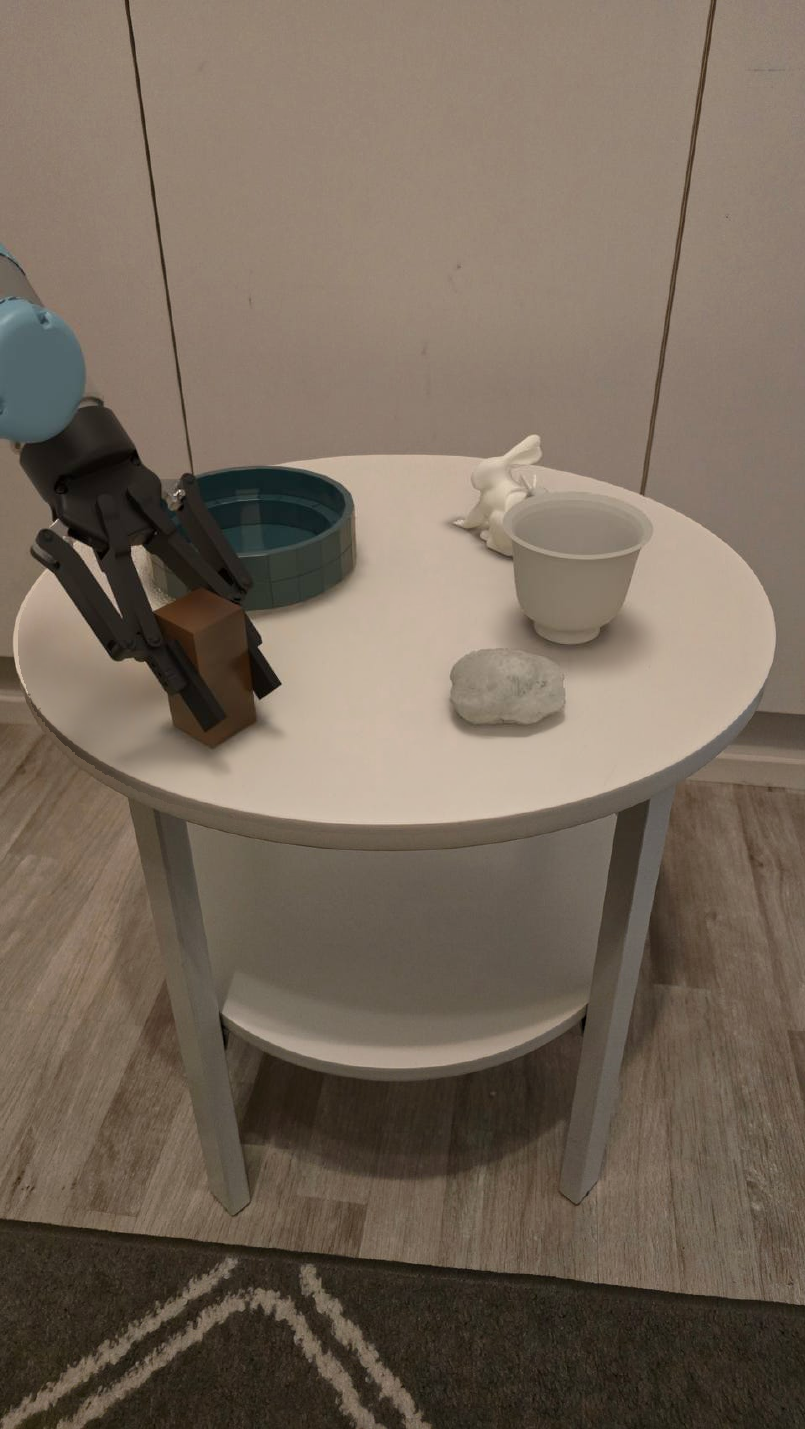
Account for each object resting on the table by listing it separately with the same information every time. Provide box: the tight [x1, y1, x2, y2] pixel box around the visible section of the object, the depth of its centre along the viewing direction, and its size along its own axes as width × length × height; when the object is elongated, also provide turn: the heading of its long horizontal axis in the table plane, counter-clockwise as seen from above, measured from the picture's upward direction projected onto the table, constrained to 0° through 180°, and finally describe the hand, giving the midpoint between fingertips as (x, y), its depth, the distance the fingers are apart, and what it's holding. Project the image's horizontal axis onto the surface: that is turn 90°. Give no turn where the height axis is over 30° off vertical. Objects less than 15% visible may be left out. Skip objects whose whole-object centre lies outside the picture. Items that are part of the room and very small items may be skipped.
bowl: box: [144, 464, 358, 613], centre depth 93 cm, size 20×20×6 cm
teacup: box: [503, 485, 654, 645], centre depth 83 cm, size 12×15×10 cm
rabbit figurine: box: [452, 434, 543, 557], centre depth 96 cm, size 12×8×10 cm, turn 28°
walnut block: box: [153, 588, 258, 750], centre depth 72 cm, size 4×4×10 cm
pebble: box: [449, 647, 567, 725], centre depth 74 cm, size 9×8×5 cm
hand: (243, 707), depth 71 cm, fingers closed on walnut block, 4 cm apart
